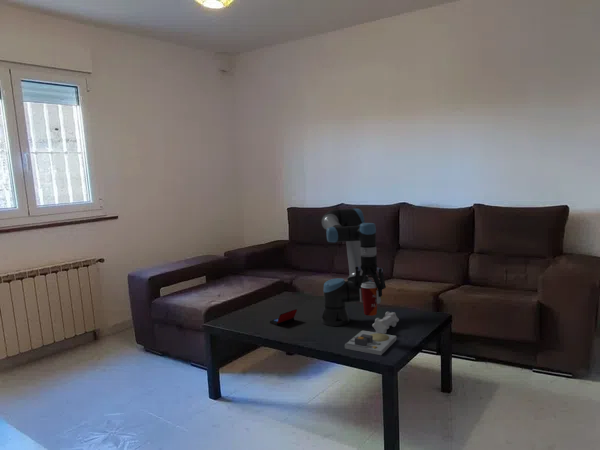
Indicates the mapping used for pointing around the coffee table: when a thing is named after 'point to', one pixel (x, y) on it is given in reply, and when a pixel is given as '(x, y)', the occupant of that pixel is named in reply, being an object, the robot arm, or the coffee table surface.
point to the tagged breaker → (361, 341)
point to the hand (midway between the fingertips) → (370, 302)
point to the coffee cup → (369, 298)
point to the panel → (372, 342)
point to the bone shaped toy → (385, 322)
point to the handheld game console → (284, 318)
